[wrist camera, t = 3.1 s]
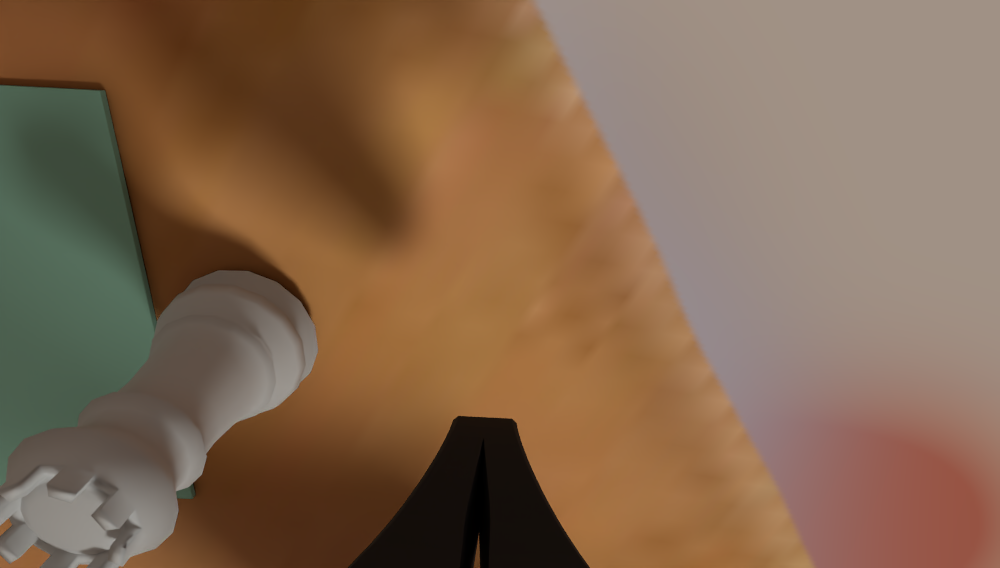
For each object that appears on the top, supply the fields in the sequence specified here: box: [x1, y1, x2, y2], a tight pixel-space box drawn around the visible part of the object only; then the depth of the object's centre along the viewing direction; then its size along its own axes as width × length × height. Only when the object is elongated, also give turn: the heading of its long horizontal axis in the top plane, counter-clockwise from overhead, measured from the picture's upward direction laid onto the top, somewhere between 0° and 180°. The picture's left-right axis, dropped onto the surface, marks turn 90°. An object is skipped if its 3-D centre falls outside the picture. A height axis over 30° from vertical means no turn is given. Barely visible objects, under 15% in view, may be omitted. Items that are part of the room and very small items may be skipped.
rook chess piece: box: [0, 270, 318, 568], centre depth 13 cm, size 4×4×8 cm
